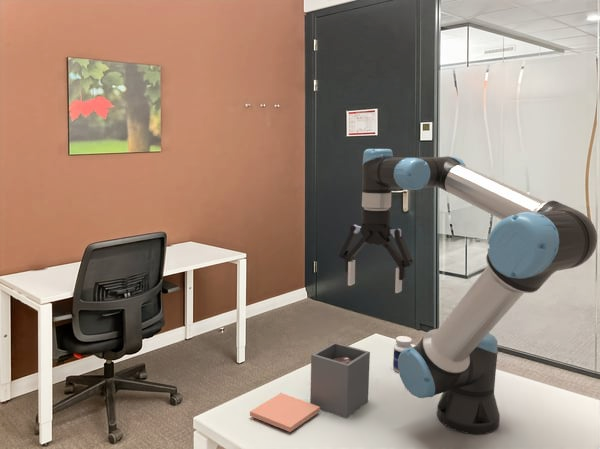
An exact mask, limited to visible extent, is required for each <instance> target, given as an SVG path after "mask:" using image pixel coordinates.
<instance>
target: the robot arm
mask: <svg viewBox="0 0 600 449" xmlns="http://www.w3.org/2000/svg"><path fill="white" fill-rule="evenodd" d="M361 166H362V179H361V181H362V182H361V183H362V191H361V192H362V194H361V196H362V197H361V207H362V210H361V226H360V225H358V224H353V225H350V229H349V234H348V235H347V239H346V240H345V242H344V245H343V246H342V248H341V249H340V251H339V255H338V258H340V259H343V260H344V261H345V265H344V266H345V272H346V273H347V286H353V285H355V284H356V259H354V258H355V257H356V255H357V254H358V253H359V252H360V251H361V250H362V249H363V247H364V246H365V245H366V244H367V243H368V245H373V244H374V245H377V246H380V245H382V246H383V247H384V248H385V250H386V251H387V253H388V254H389V255H390V257H391V258H392V259H393V261H394V262H395V264H396V265H397V267H396V268H395V283H394V284H395V287H394V293H395V294H399V293H401V292H402V291H403V281H404V280H405V279H406V277H407V276H406V275H407V267H409V268H410V266H413V265H414V260H413V258H412V256H411V254H410V251H409V248H408V247H407V244H406V242H405V239H404V237H403V229H402V228H400V227H399V228H397V229H396V228H395V229H394V228H393V229H392V227H391V221H392V220H391V217H392V211H391V209H390V208H391V207H392V191H393V190H392V188H393V189H394V188H395V189H401V190H402V189H403V190H405V191H418V190H419V191H420V190H422V189H423V188H424V189H425V188H426V189H427V188H428V189H429V188H438V189H441V190H443V191H445V192H447V193H448V194H449V193H450V194H452V195H453V196H455V197H457V198H459V199H461V200H463V201H465V202H466V203H468V204H471V205H472V206H475V207H476V208H478V209H480V210H481V211H484V212H486V213H488V214H489V215H492V216H493V217H496V218H498V219H500V221H499V222H497V224H495V226H494V227H493V229H492V230H491V232H490V234H489V236H488V240H487V244H488V245H489V247H487V254H486V255H485V256H486V257H485V259H486V264H487V266H486V268H484V270H483V271H482V273H481V274H480V275H479V276H478V278H477V279H476V280H475V281H474V283H473V284H472V286H470V288H469V289H468V290H467V292H466V293H465V294H464V296H463V297H462V298H461V300H460V301H459V302H458V303H457V304H456V306H455V307H454V308H453V310H451V312H450V314H448V316H447V317H446V318H445V320H444V321H443V322H442V324H441V325H440V326H439V327H438V328H435V329H430V330H428V331H427V332H426V333H425V334H424V335H423V337H422V338H420V340H419V342H418V343H417V344H416V345H415V346H412V347H408V348H407V349H405V350H403V351H402V352H401V353H400V355H399V358H398V369H399V372H398V375H399V378H400V380H401V382H402V384H403V386H404V388H405V389H406V390H407V391H408V392H409V394H411V395H412V396H414V397H417V398H418V399H426V398H433V397H434V396H437V395H440V394H441V396H440V399H439V401H438V402H437V406H436V407H437V408H436V417H437V419H438V420H439V421H440V423H442V425H444V426H446V427H448V428H449V429H452V430H454V431H458V432H460V433H464V434H471V435H472V434H473V435H484V434H489V433H493V432H494V431H496V430H497V429H498V428H499V426H500V411H499V408H498V407H499V406H498V404H497V400H496V396H495V385H496V375H497V374H496V373H497V372H496V371H497V361H498V360H497V359H498V354H499V352H498V340H497V338H496V336H494V335H493V334H491V333H490V332H491V331H492V330H493V329H494V328H495V326H496V325H498V323H499V322H500V321H501V320H502V319H503V317H504V316H505V315H506V314H507V313H508V312H509V310H510V309H512V307H513V306H514V305H515V304H516V302H517V301H518V300H519V299H520V298H521V296H523V294H525V293H526V294H533V293H535V292H537V291H538V290H540V289H541V287H542V286H543V285H544V284H545V282H546V281H548V280H549V278H550V277H551V276H552V275H553V274H554V273H556V272H558V271H565V270H568V269H569V270H570V269H574V268H577V267H579V266H581V265H583V264H584V263H585V262H587V261H588V260H589V259H590V258H591V257H592V256H593V254H594V253H595V250H596V248H597V245H598V234H597V230H596V228H595V225H594V223H593V222H592V220H591V219H590V218H589V217H588V216H587V215H585V213H583V212H582V211H580V210H577V209H575V208H573V207H570V206H569V205H566V204H563V203H561V202H559V201H557V200H554V199H553V200H552V199H551V200H547V201H544V200H541V199H539V197H538V198H537V197H535V196H533V195H531V194H528V193H526V192H524V191H521V190H519V189H517V188H515V187H512V186H510V185H508V184H506V183H504V182H501V181H499V180H497V179H494V178H493V177H490V176H488V175H486V174H483V173H481V172H479V171H477V170H474V169H472V168H470V167H468V166H466V163H465V162H464V161H463V160H462V159H461V158H459V157H454V156H434V157H431V156H430V157H429V156H427V157H425V156H424V157H423V156H421V157H394V156H393V150H392V149H390V148H367V149H365V150H364V151H363V157H362V164H361ZM359 233H360V234H361V235H362V237H361V238H360V239H359V240H358V242H357V243H356V244H355V245H354V246H353V244H354V242H355V240H356V237H357V235H358V234H359ZM391 235H392V237H393V238H394V240H395V243H396V245H397V248H398V249H397V248H396V246H395V245H394V244H393V241H392V240H391V238H390V236H391ZM352 246H353V248H352ZM351 248H352V249H351ZM398 250H399V251H398Z"/></svg>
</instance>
